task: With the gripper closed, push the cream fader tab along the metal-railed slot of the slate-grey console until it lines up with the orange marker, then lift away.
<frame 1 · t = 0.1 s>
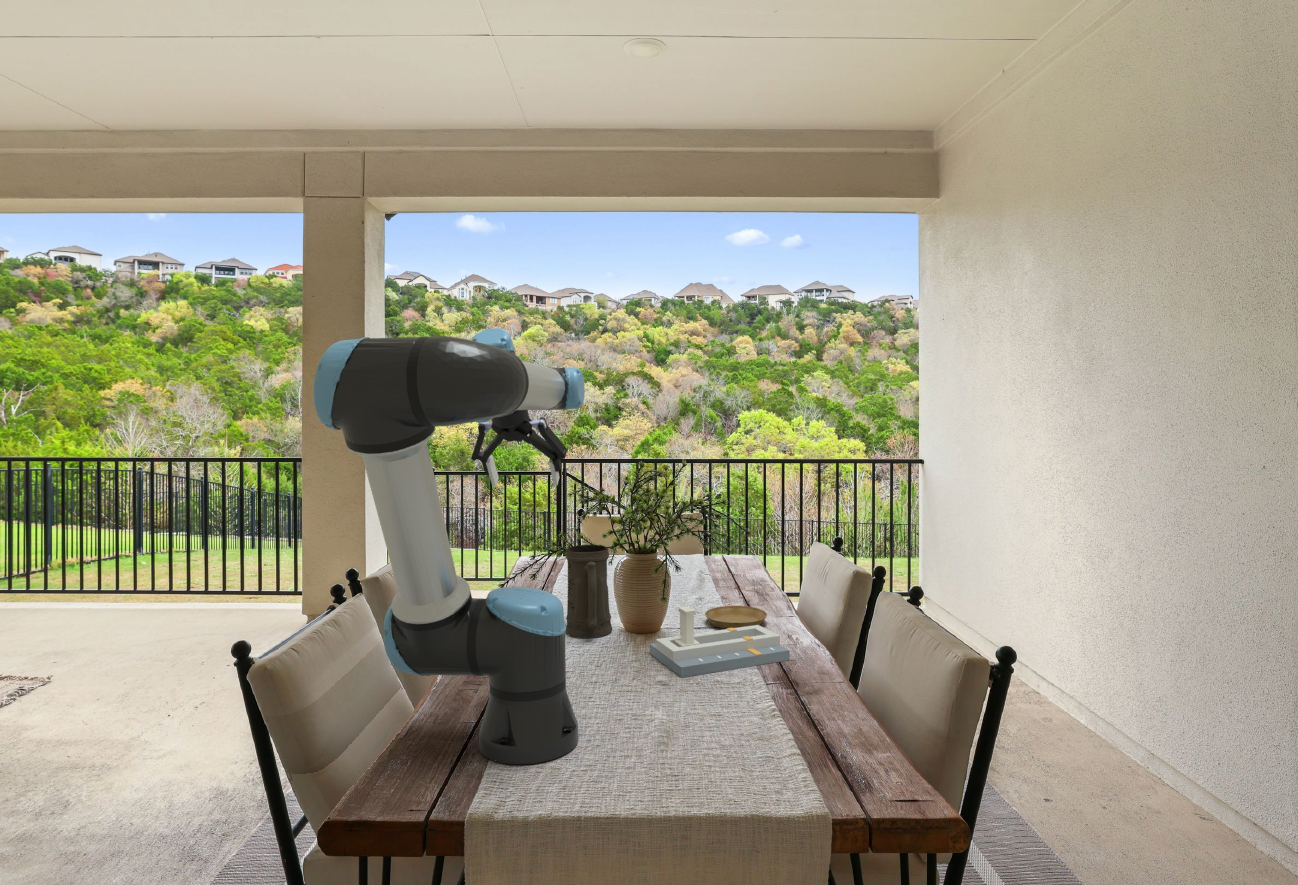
hand: (526, 482, 164), 36 cm above the table, tool tilted 35°, fingers open, 13 cm apart
beer stein: (591, 635, 173), on the table
plant saucer: (736, 625, 180), on the table
console: (718, 656, 156), on the table
fader tab: (687, 629, 153), point 6 cm above the table, slide at 0.0 cm
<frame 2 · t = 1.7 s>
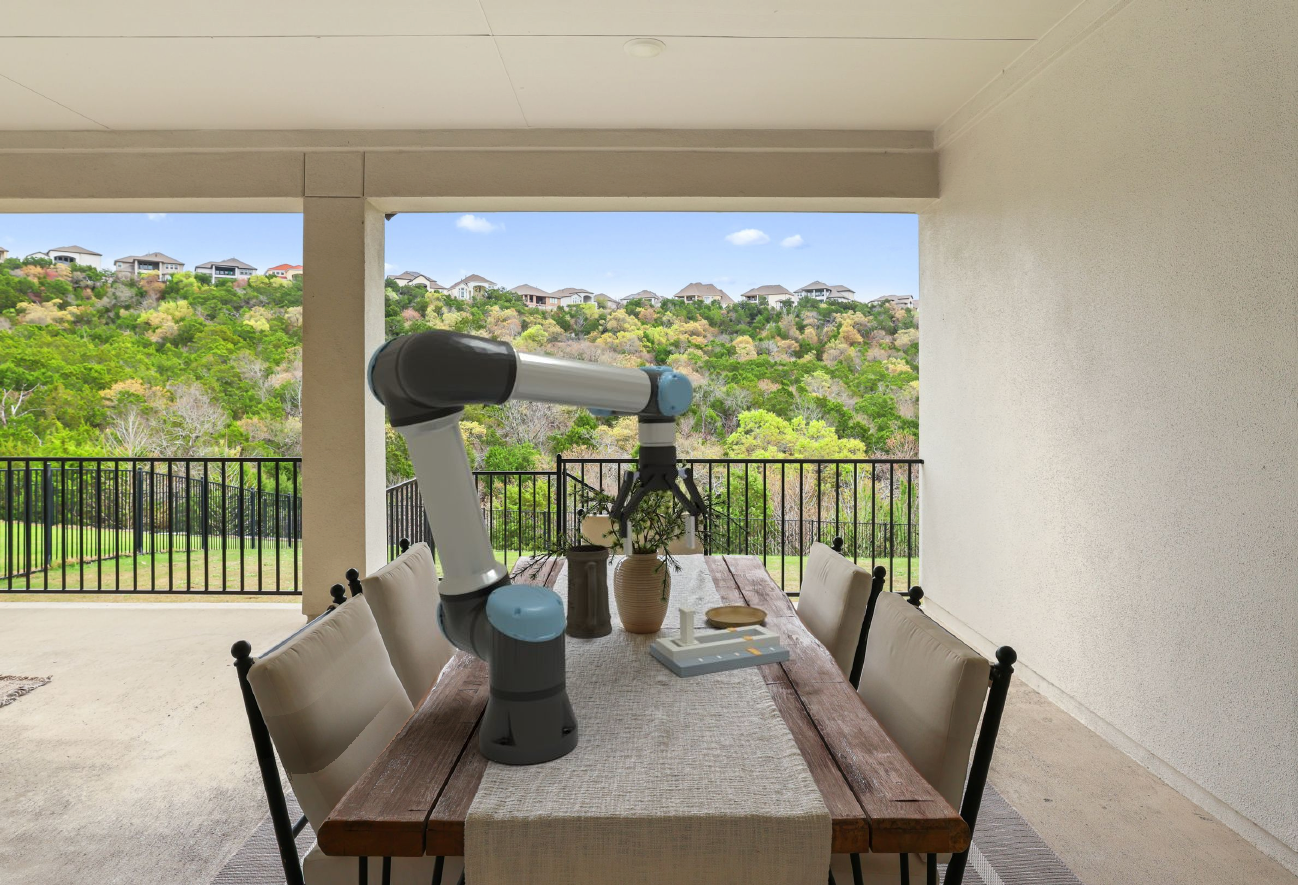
hand: (659, 551, 151), 23 cm above the table, tool pointing down, fingers open, 13 cm apart
nothing on the table moved.
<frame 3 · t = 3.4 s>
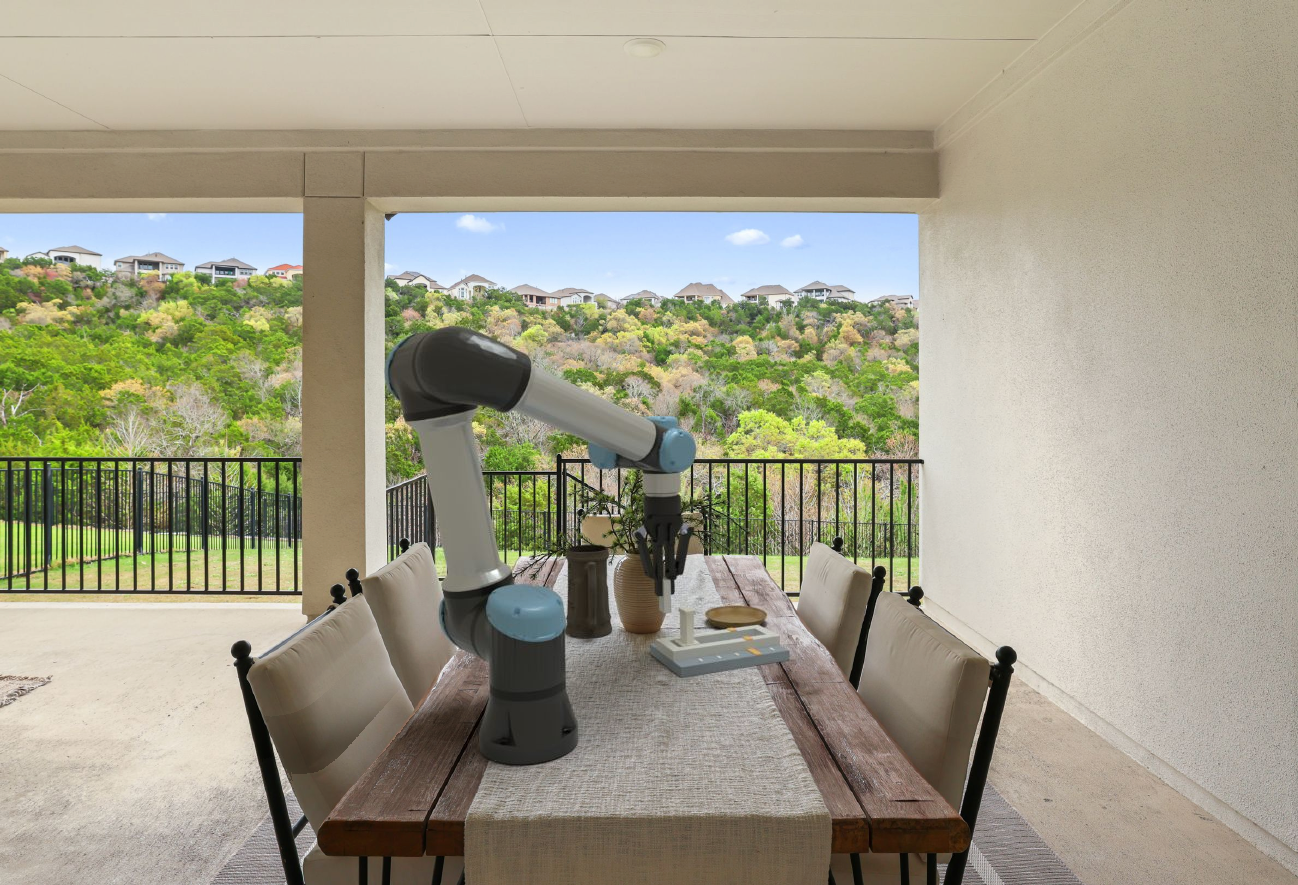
hand: (665, 611, 151), 11 cm above the table, tool pointing down, fingers closed
nothing on the table moved.
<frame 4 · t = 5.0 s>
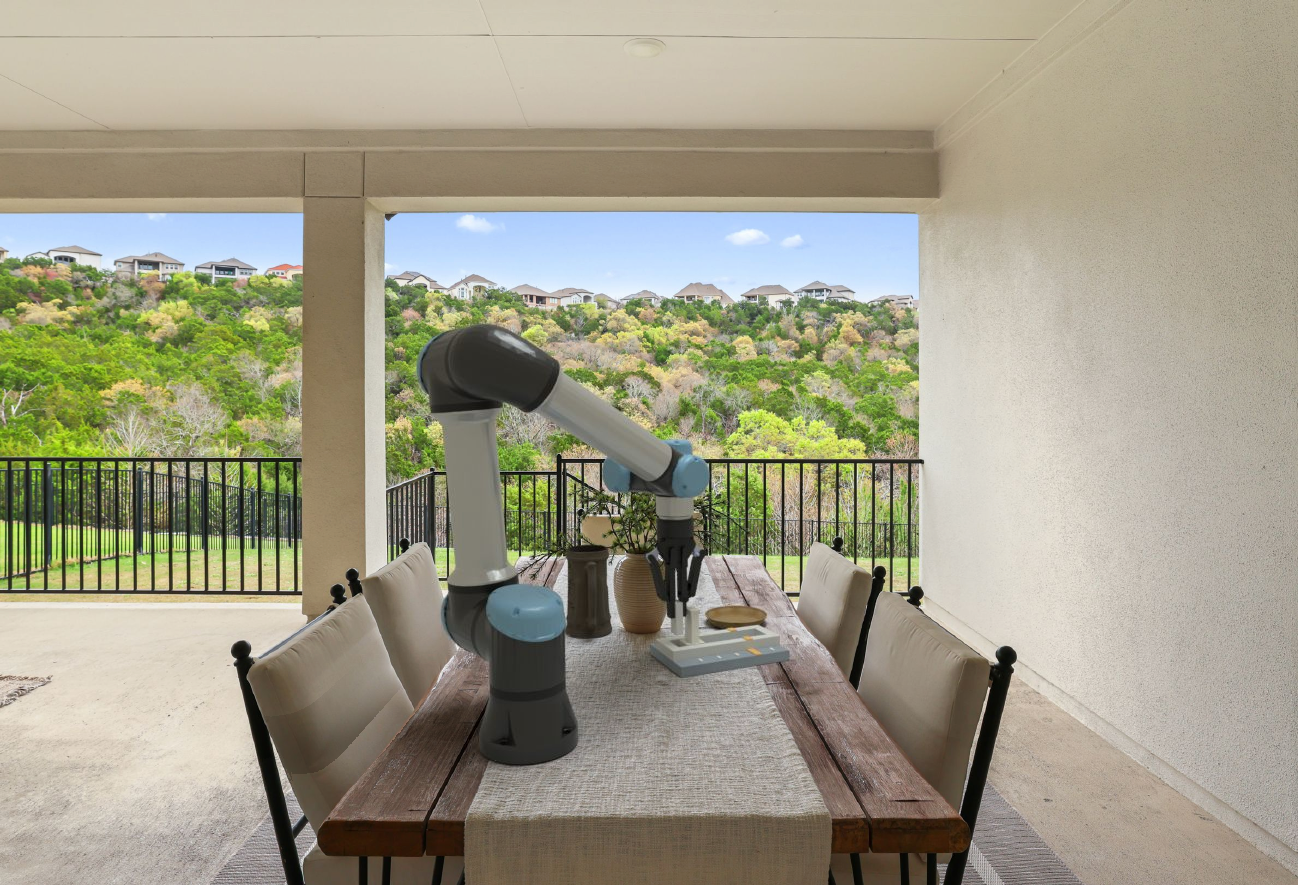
hand: (677, 633, 152), 6 cm above the table, tool pointing down, fingers closed
fader tab: (691, 629, 153), point 6 cm above the table, slide at 1.1 cm, touching gripper
everything else where it was.
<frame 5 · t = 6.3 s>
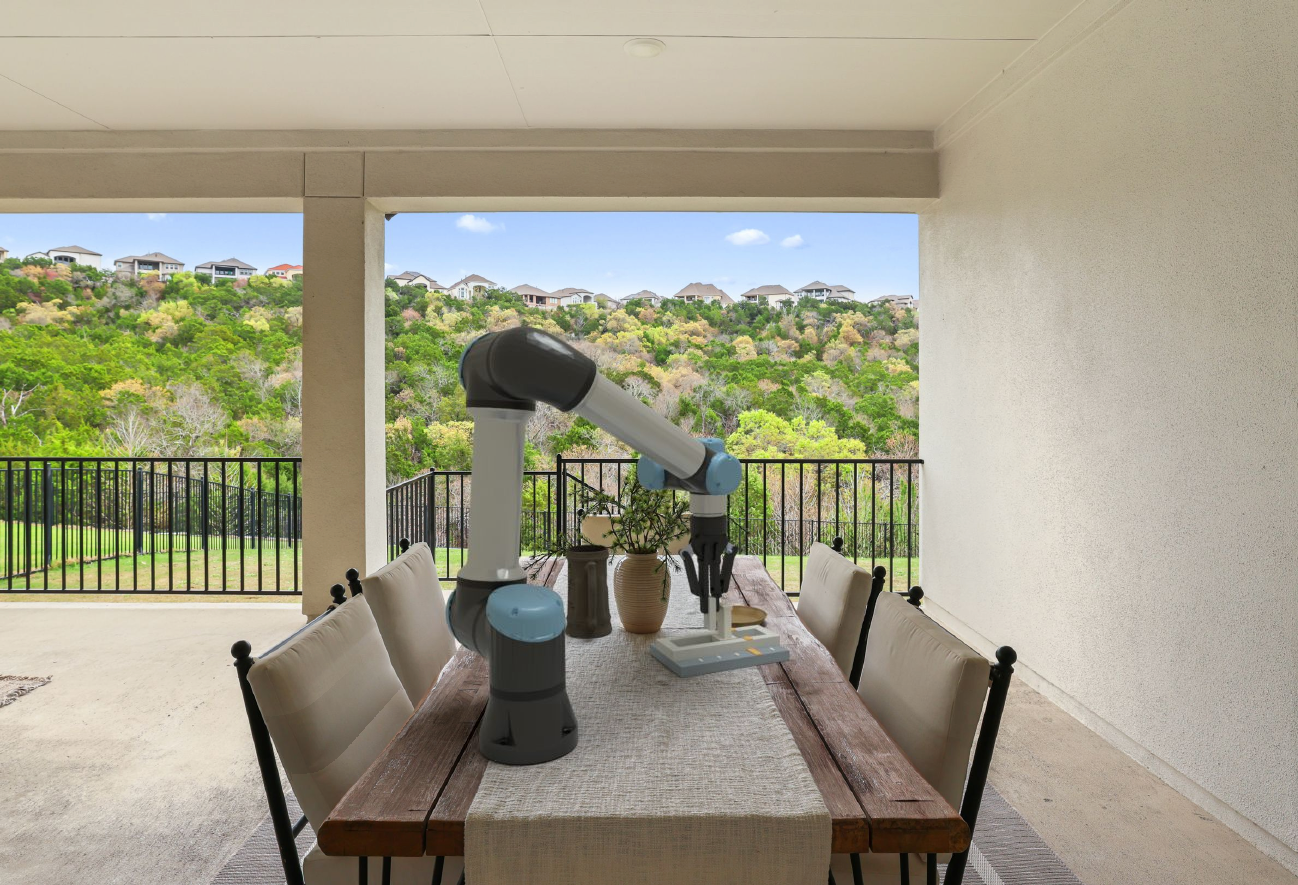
hand: (710, 628, 155), 6 cm above the table, tool pointing down, fingers closed
fader tab: (724, 624, 156), point 6 cm above the table, slide at 8.5 cm, touching gripper
everything else where it was.
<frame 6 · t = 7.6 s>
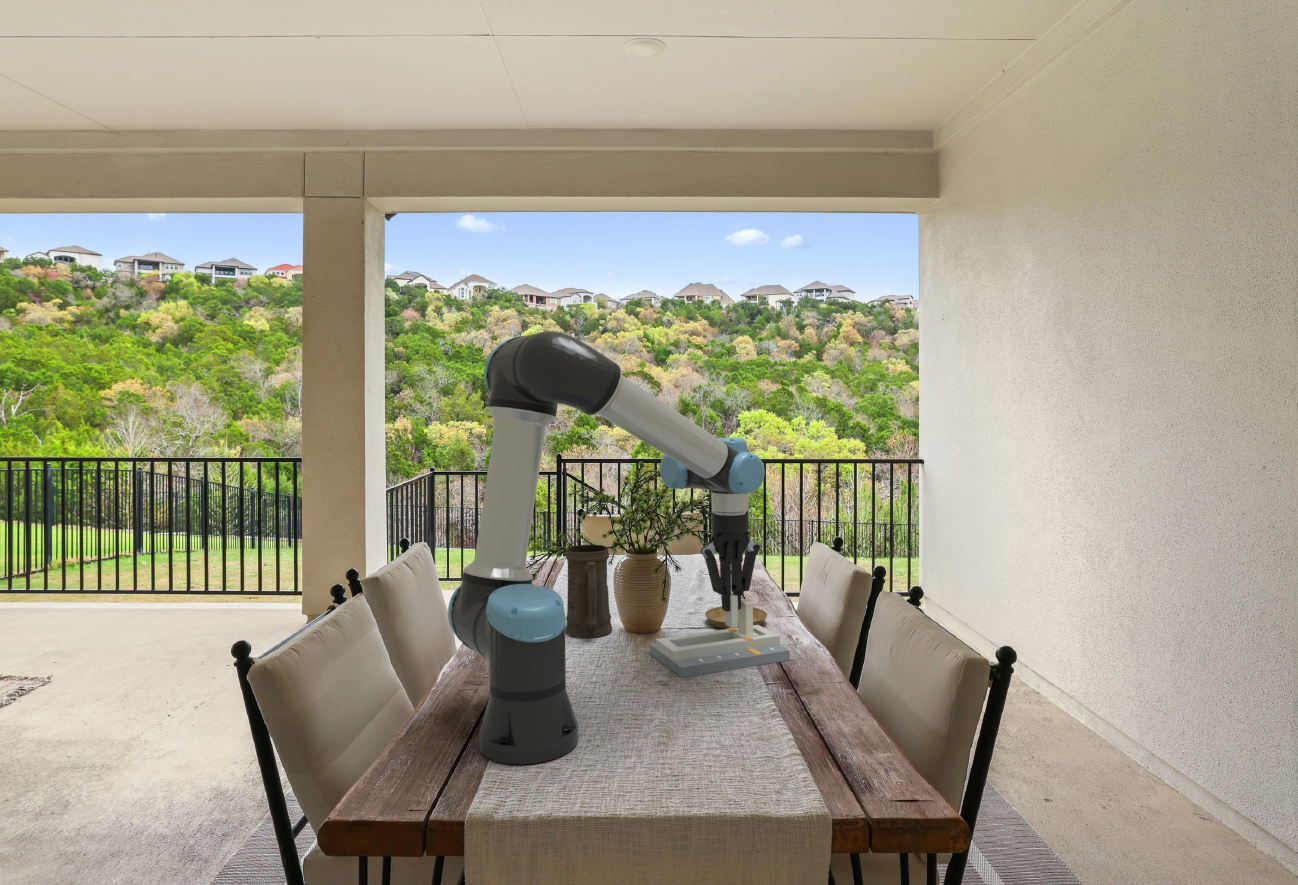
hand: (731, 625, 157), 6 cm above the table, tool pointing down, fingers closed
fader tab: (745, 621, 158), point 6 cm above the table, slide at 13.5 cm, touching gripper
everything else where it was.
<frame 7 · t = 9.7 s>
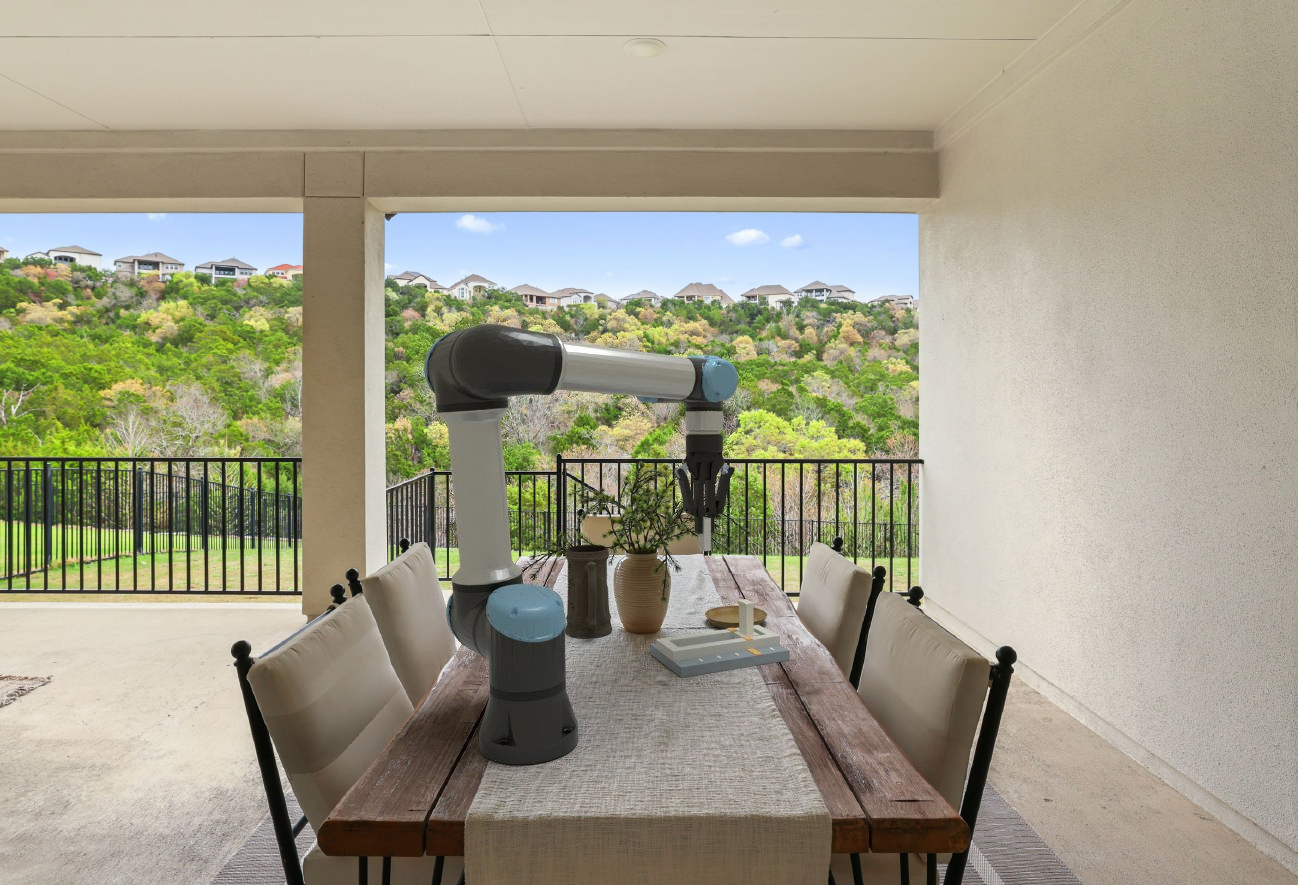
hand: (704, 549, 153), 23 cm above the table, tool pointing down, fingers closed
fader tab: (746, 621, 158), point 6 cm above the table, slide at 13.6 cm
everything else where it was.
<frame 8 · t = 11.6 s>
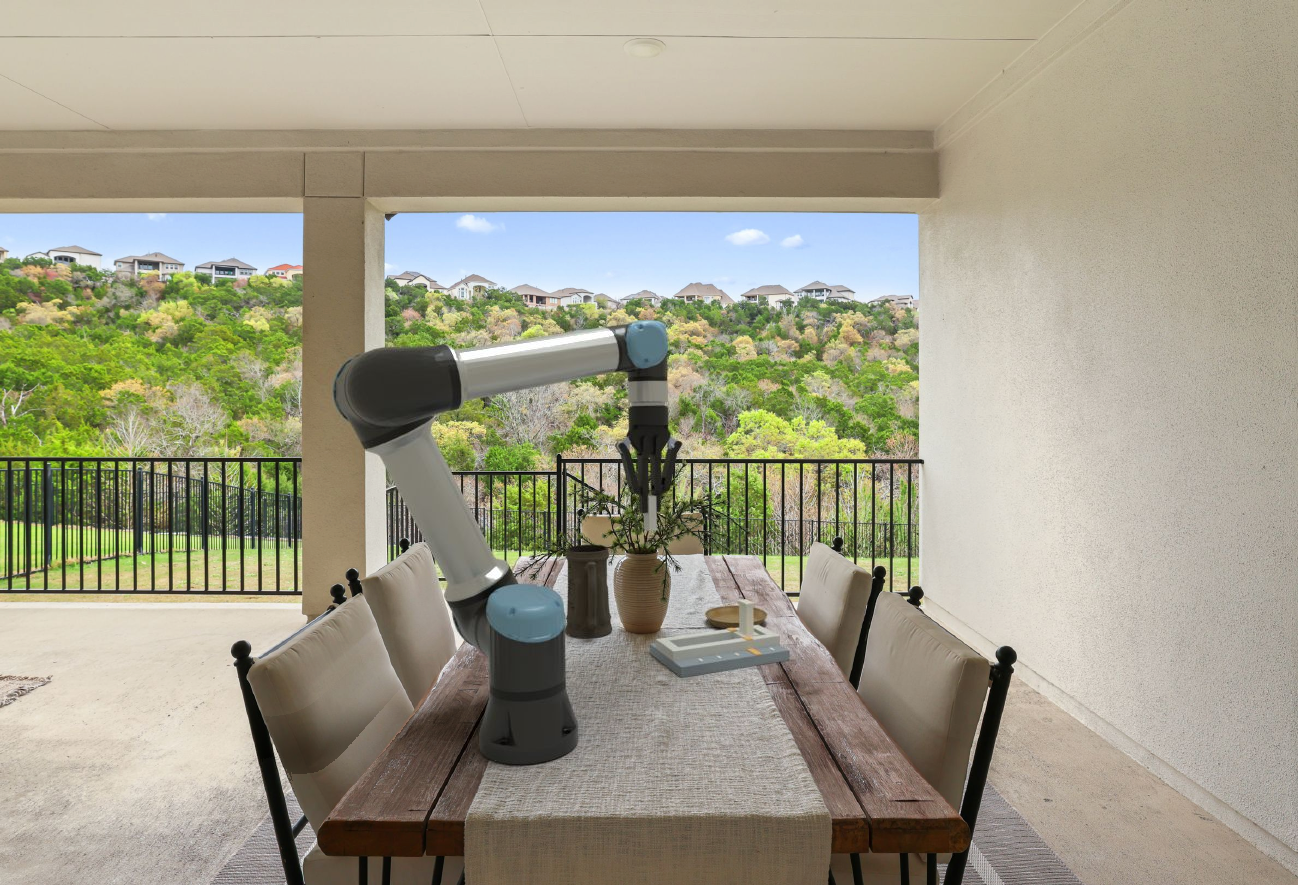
hand: (650, 529, 143), 28 cm above the table, tool pointing down, fingers closed
nothing on the table moved.
at the end: fader tab slide at 13.6 cm; fader tab 1.6 cm from the target spot, resting on console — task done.
